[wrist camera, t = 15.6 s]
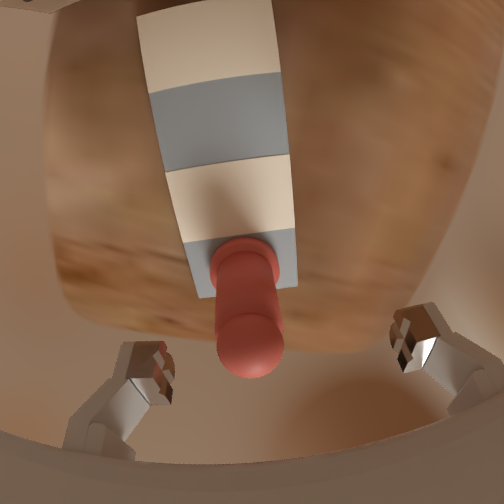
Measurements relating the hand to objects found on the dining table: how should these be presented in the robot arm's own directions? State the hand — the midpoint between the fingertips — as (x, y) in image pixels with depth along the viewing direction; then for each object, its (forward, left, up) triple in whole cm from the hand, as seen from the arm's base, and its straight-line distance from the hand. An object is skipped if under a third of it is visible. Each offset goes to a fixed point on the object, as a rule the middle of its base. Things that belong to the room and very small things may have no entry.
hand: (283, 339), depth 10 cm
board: (-4, -1, -8) cm, 9 cm away
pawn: (+2, -1, -7) cm, 8 cm away
